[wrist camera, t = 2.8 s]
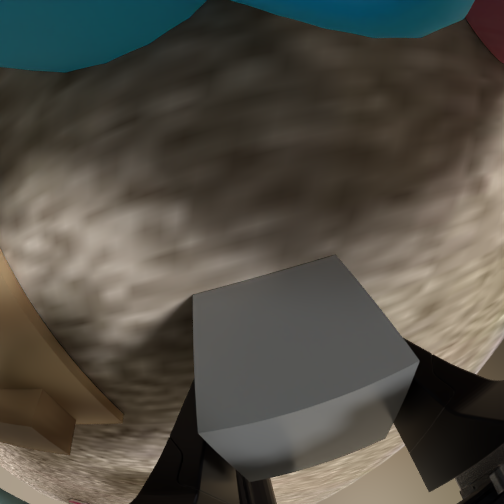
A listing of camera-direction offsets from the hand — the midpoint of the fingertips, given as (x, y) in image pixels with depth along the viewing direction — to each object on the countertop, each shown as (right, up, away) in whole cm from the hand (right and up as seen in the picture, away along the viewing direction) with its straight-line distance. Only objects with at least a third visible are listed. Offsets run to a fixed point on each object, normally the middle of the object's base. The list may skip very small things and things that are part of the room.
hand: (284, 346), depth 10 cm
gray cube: (0, 0, +1) cm, 1 cm away
